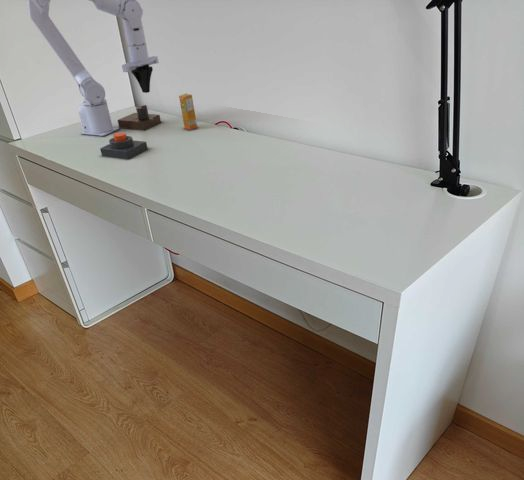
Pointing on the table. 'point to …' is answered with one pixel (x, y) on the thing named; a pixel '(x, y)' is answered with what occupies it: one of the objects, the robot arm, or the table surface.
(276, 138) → the table surface
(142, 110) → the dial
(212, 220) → the table surface
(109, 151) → the switch block
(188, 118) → the supplement box
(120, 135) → the button
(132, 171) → the table surface
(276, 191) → the table surface
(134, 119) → the brown wooden block
